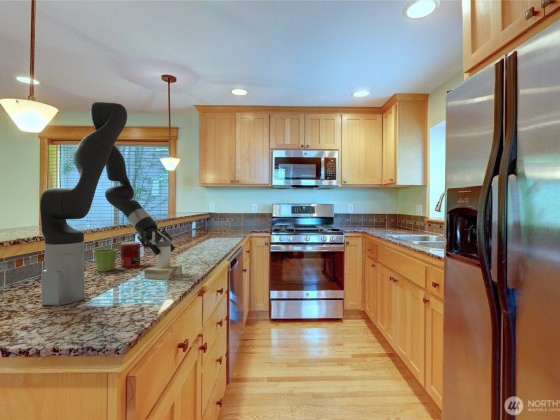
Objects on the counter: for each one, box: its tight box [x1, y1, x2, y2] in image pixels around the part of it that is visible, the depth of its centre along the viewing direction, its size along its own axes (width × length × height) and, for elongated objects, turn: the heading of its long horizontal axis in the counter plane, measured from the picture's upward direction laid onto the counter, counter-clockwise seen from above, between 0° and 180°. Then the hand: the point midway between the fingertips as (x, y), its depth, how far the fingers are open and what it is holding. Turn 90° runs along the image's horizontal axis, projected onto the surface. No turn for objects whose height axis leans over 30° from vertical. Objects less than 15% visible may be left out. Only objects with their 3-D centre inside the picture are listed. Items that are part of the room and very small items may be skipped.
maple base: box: [143, 264, 183, 281], centre depth 113 cm, size 10×10×4 cm
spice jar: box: [155, 240, 172, 269], centre depth 112 cm, size 6×6×10 cm
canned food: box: [120, 241, 141, 269], centre depth 129 cm, size 8×8×11 cm
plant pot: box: [91, 248, 119, 273], centre depth 121 cm, size 9×9×9 cm
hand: (166, 251), depth 112 cm, fingers open, 8 cm apart
